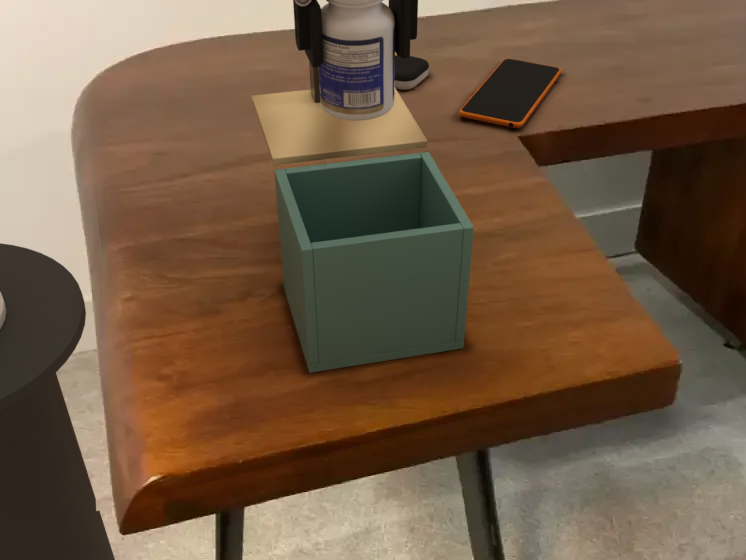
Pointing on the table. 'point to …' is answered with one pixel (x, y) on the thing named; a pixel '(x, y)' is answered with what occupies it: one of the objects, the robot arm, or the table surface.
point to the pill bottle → (357, 59)
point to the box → (373, 259)
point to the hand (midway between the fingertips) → (356, 52)
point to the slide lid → (329, 128)
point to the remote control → (409, 72)
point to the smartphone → (510, 93)
